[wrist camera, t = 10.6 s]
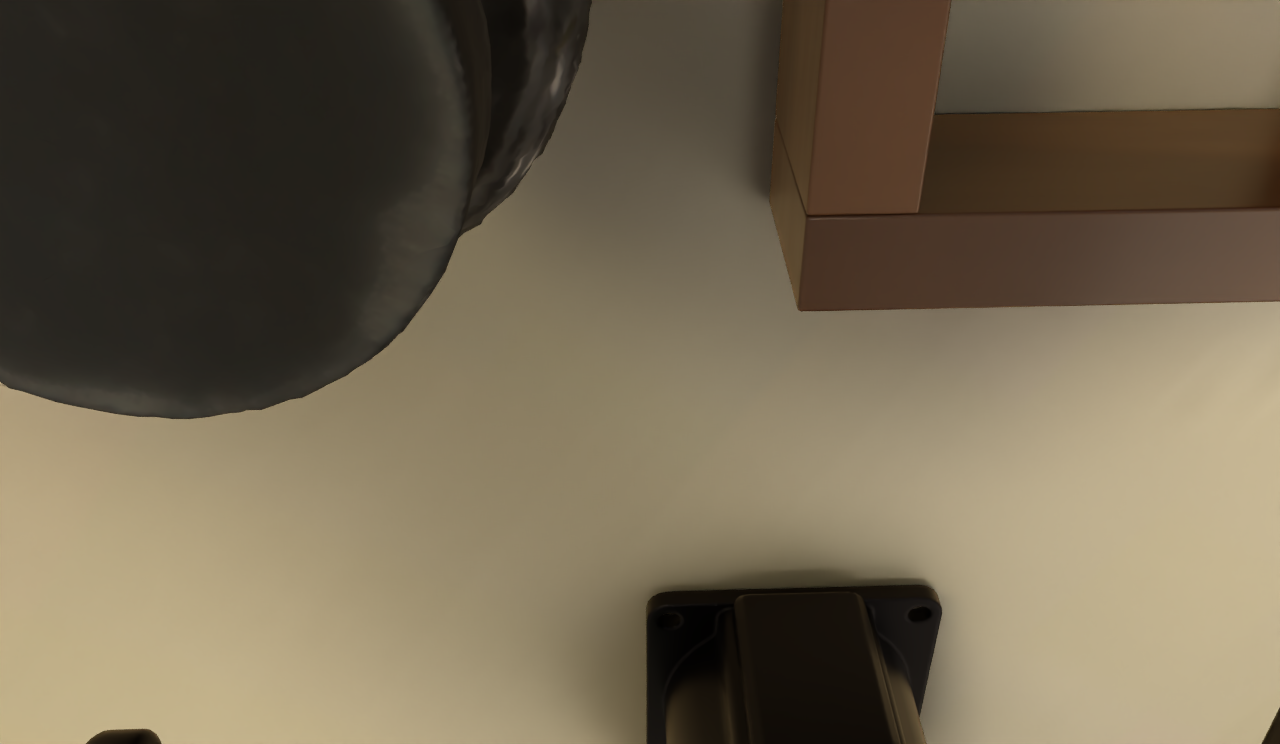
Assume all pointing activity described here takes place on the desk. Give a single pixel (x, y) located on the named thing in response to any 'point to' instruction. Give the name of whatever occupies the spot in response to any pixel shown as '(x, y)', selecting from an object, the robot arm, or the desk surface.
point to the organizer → (1001, 184)
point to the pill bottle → (250, 183)
